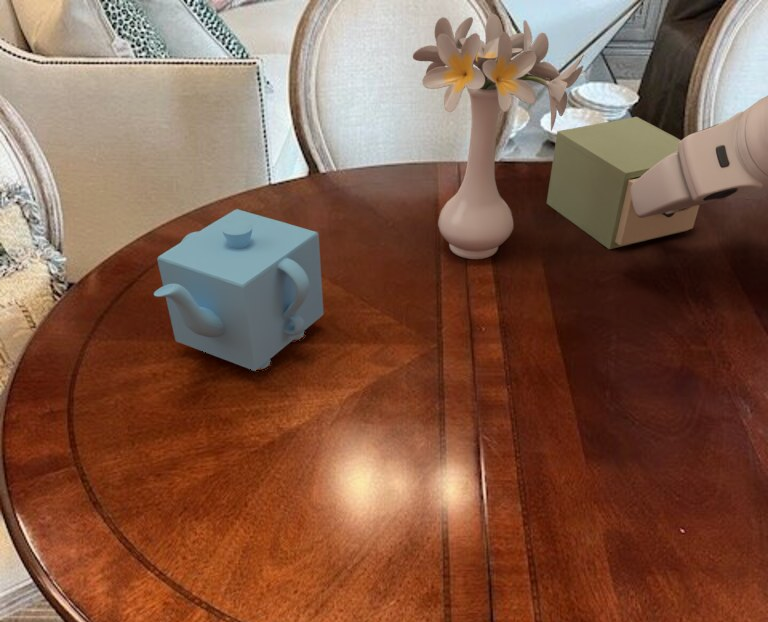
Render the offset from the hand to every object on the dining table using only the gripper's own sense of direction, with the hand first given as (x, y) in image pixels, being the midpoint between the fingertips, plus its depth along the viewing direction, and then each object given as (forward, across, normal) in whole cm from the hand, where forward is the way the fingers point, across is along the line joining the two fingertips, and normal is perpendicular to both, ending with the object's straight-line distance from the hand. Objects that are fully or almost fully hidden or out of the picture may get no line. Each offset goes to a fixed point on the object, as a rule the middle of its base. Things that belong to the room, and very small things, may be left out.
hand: (673, 206), depth 95 cm
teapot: (+4, +56, +4) cm, 56 cm away
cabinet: (+11, 0, -3) cm, 11 cm away
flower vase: (+11, +21, -3) cm, 24 cm away
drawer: (+9, 0, -2) cm, 9 cm away
